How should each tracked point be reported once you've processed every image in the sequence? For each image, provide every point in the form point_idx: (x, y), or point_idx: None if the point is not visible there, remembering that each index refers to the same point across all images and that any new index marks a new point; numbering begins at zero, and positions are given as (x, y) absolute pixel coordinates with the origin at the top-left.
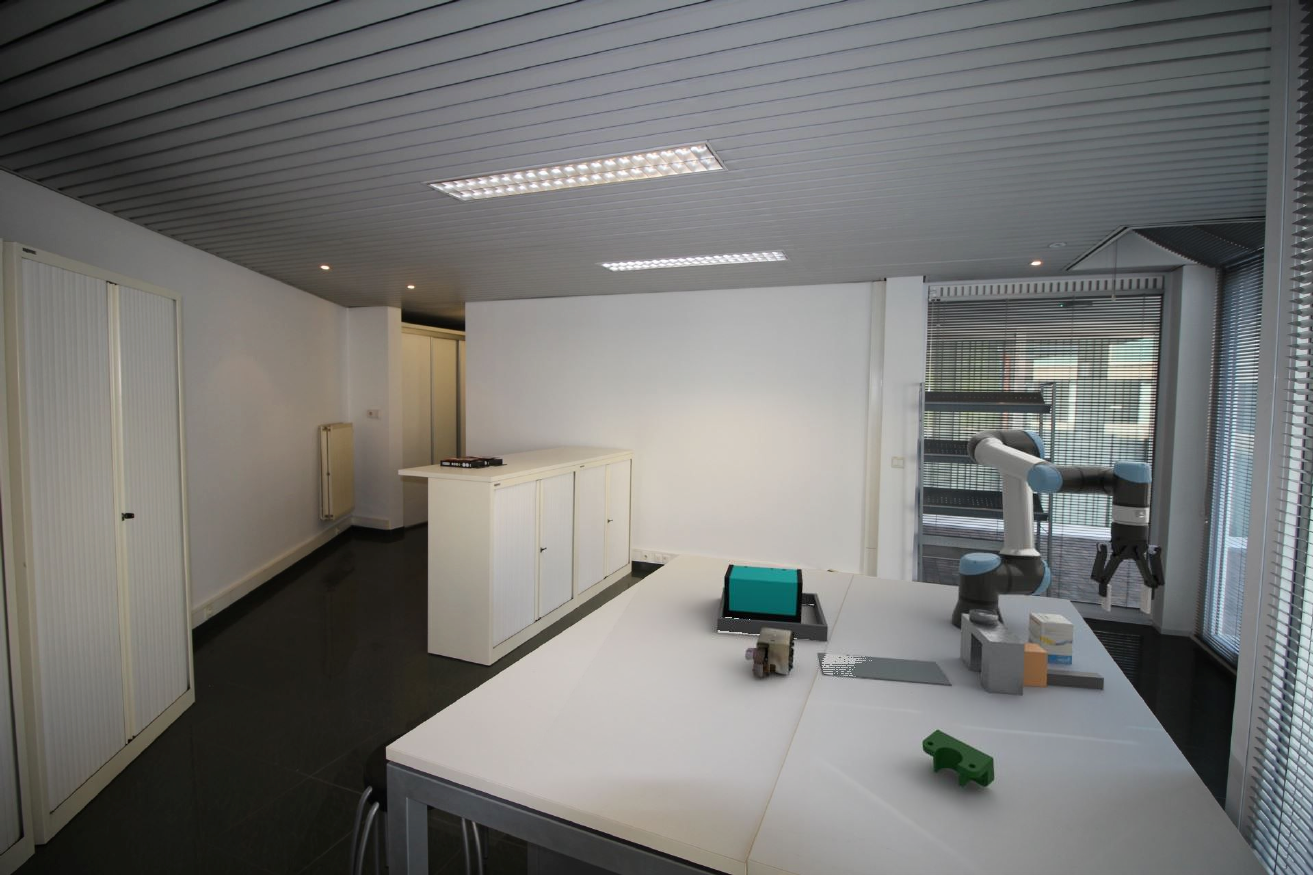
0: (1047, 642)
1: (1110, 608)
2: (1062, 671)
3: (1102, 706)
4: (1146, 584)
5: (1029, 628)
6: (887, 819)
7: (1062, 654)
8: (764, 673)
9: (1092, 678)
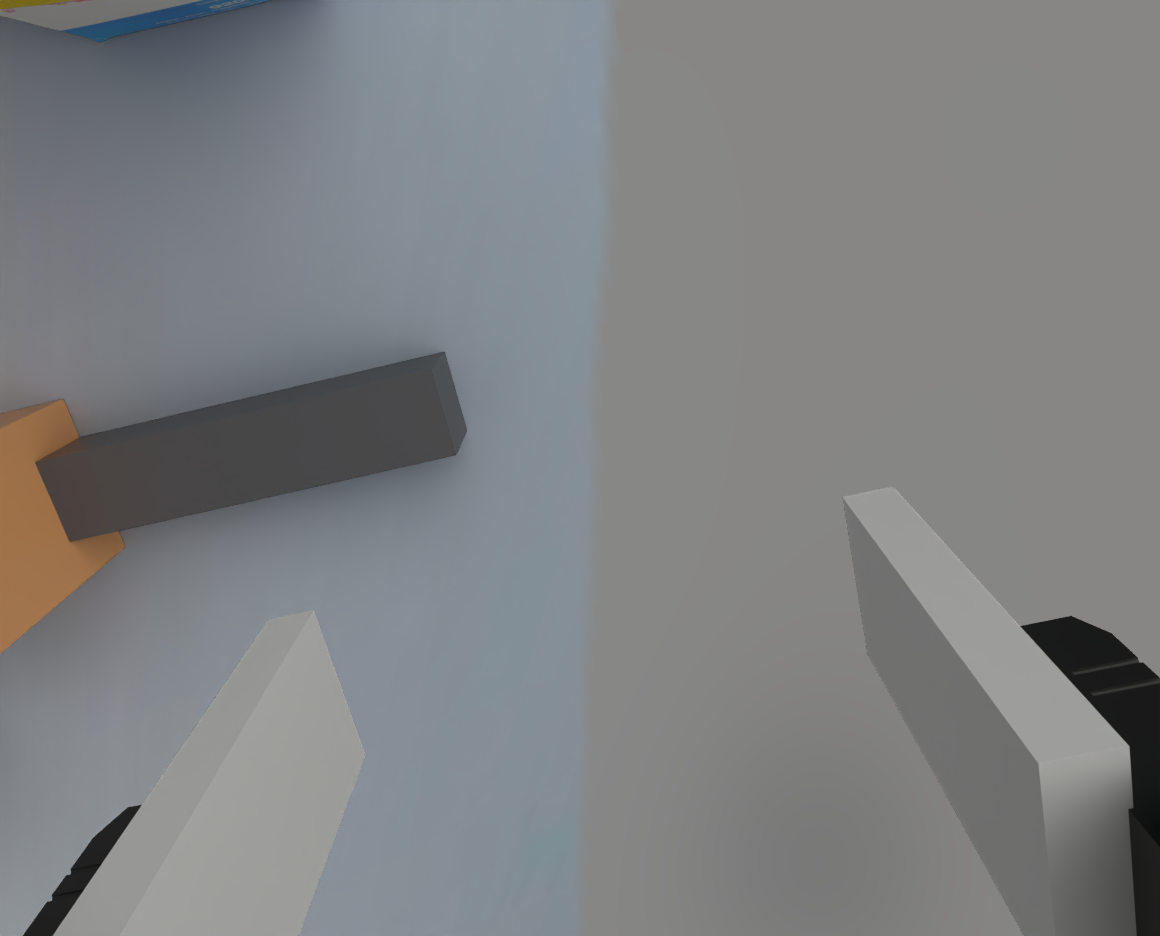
0: (50, 2)
1: (353, 781)
2: (192, 452)
3: (404, 691)
4: (1157, 844)
5: None
6: None
7: None
8: None
9: (383, 469)
